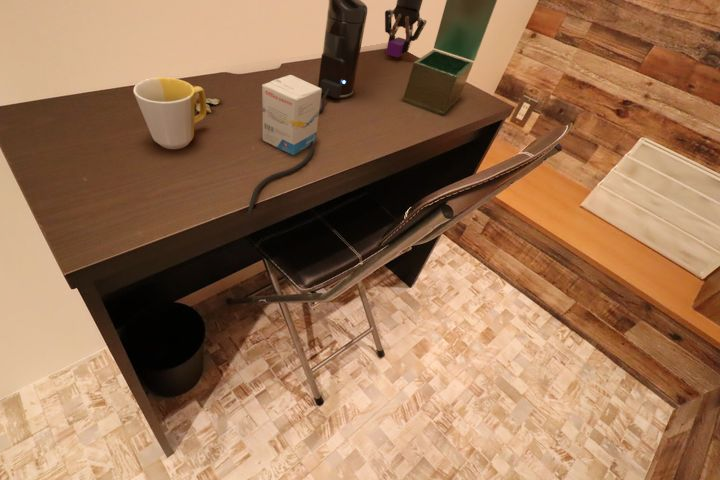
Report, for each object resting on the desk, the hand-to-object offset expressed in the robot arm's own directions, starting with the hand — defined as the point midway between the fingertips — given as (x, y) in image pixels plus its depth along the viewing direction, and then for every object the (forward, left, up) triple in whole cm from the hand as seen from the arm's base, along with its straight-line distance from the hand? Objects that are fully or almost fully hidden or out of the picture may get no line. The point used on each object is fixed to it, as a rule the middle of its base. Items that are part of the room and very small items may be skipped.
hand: (397, 50), depth 121 cm
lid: (-17, -22, +16) cm, 32 cm away
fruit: (-72, +18, -2) cm, 74 cm away
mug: (-85, +10, -2) cm, 85 cm away
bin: (-23, -22, -2) cm, 31 cm away
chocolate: (0, 0, -1) cm, 1 cm away
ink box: (-70, -6, -2) cm, 70 cm away
